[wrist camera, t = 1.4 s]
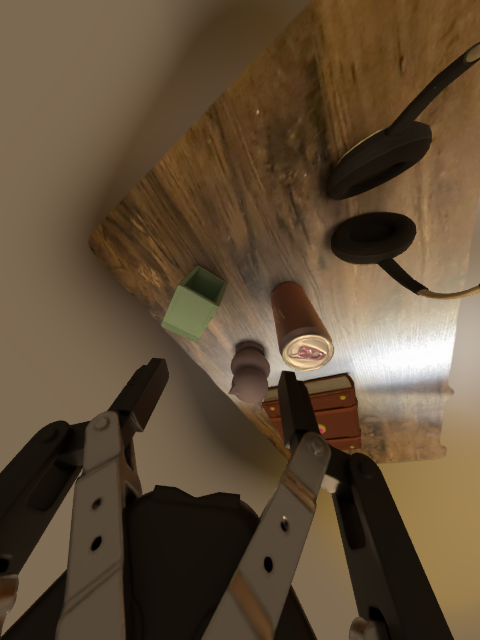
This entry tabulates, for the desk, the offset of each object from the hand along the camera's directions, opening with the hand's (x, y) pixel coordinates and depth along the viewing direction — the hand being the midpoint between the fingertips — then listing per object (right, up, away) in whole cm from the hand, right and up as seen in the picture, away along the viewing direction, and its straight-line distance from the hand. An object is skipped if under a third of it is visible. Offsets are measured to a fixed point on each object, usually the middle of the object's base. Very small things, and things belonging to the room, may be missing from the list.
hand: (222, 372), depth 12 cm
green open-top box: (-6, +9, +21) cm, 23 cm away
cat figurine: (+4, -4, +28) cm, 29 cm away
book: (+23, -24, +40) cm, 53 cm away
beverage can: (+10, +8, +20) cm, 24 cm away
